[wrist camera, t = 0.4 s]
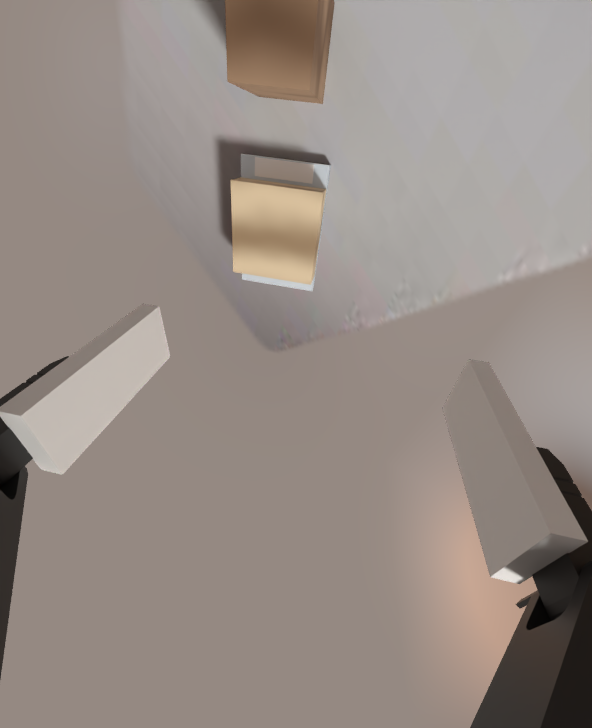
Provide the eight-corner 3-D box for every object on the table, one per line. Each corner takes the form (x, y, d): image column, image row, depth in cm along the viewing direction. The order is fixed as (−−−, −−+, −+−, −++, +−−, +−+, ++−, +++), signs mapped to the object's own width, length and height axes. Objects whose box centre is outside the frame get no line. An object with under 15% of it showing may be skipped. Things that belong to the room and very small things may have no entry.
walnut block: (260, -3, 24) (223, -57, 18) (334, 3, 23) (322, -50, 17) (259, 96, 28) (227, 81, 21) (322, 103, 27) (309, 90, 21)
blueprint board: (243, 153, 30) (240, 153, 30) (330, 164, 30) (329, 165, 29) (244, 276, 38) (241, 279, 37) (313, 288, 37) (312, 291, 37)
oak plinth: (240, 177, 31) (230, 179, 28) (326, 189, 30) (323, 192, 28) (241, 263, 36) (233, 271, 34) (314, 275, 35) (310, 284, 33)
